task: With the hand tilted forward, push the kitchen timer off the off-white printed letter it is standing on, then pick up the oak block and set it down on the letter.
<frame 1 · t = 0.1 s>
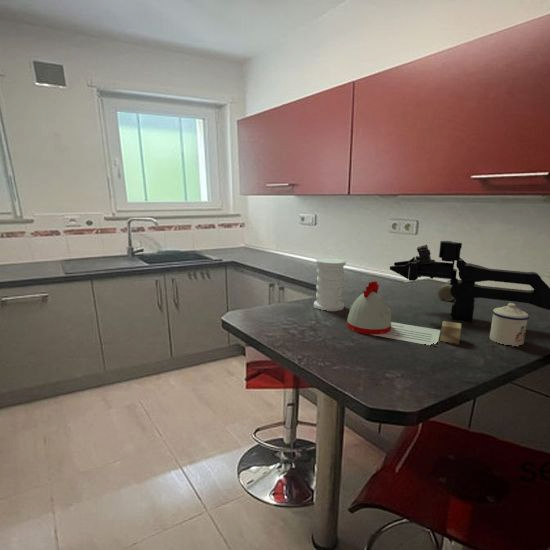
hand: (392, 265, 136), 17 cm above the breakfast bar, tool horizontal, fingers open, 9 cm apart
letter: (406, 332, 115), on the breakfast bar
teacup with lid: (506, 340, 110), on the breakfast bar
decorative container: (328, 307, 141), on the breakfast bar
kitchen timer: (368, 327, 119), on the breakfast bar, touching letter
block: (449, 340, 109), on the breakfast bar
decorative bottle: (452, 296, 160), on the breakfast bar
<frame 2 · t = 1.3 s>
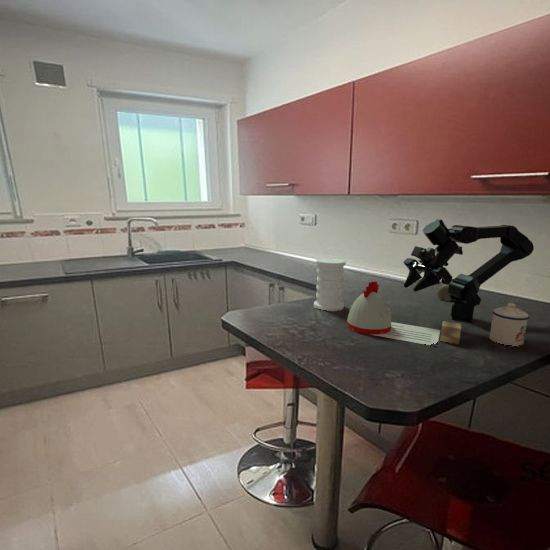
hand: (409, 288, 120), 12 cm above the breakfast bar, tool tilted 45°, fingers open, 5 cm apart
nothing on the breakfast bar moved.
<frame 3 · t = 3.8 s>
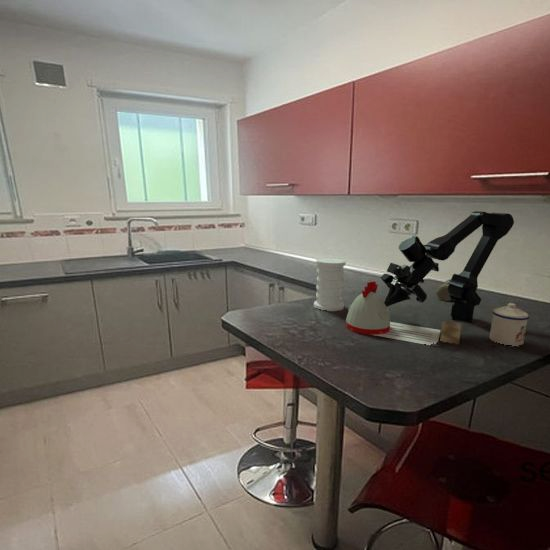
hand: (384, 305, 119), 7 cm above the breakfast bar, tool tilted 45°, fingers closed, pressing on kitchen timer
kitchen timer: (367, 327, 119), on the breakfast bar, touching gripper, letter
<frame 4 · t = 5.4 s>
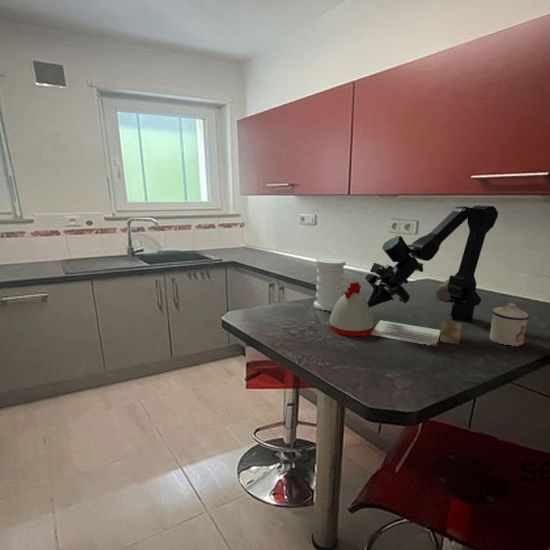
hand: (368, 306, 117), 7 cm above the breakfast bar, tool tilted 45°, fingers closed, pressing on kitchen timer
kitchen timer: (350, 328, 118), on the breakfast bar, touching gripper, letter
everything else where it was.
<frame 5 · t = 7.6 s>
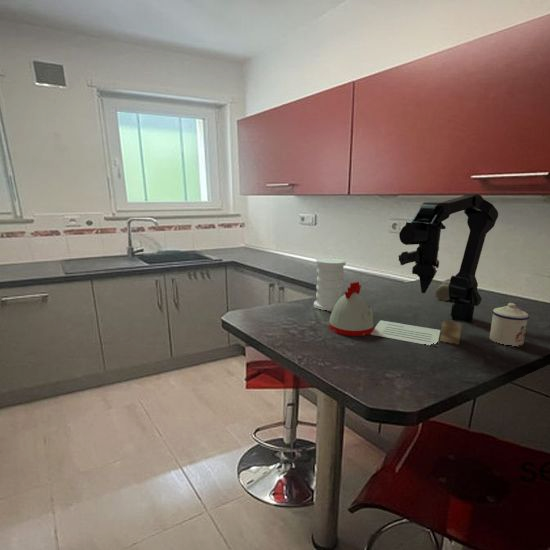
hand: (423, 292, 116), 12 cm above the breakfast bar, tool pointing down, fingers closed
kitchen timer: (350, 328, 118), on the breakfast bar, touching letter
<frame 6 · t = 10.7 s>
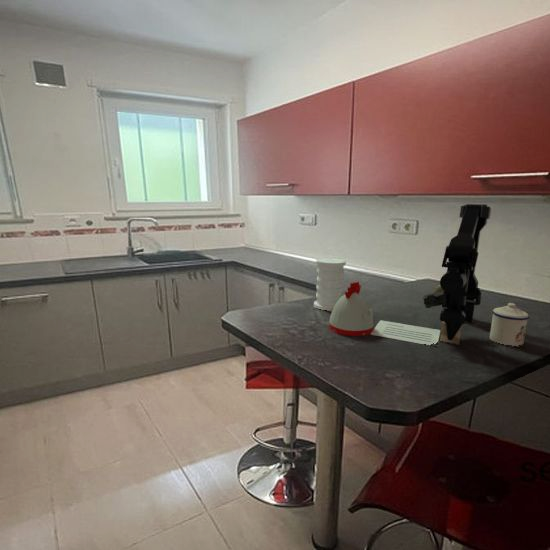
hand: (450, 336, 109), 1 cm above the breakfast bar, tool pointing down, fingers closed on block, 5 cm apart
block: (449, 340, 109), on the breakfast bar, touching gripper
when the fingers open (2 cm above the breakfast bar, at t = 14.4 s): block drops 1 cm, resting on letter.
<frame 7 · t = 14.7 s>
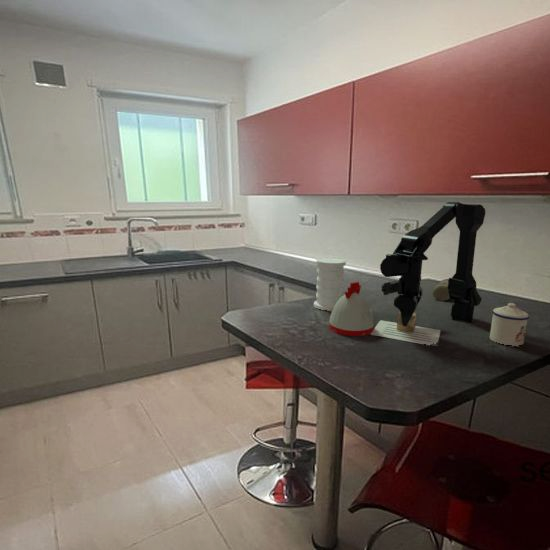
hand: (406, 321, 117), 2 cm above the breakfast bar, tool pointing down, fingers open, 8 cm apart
block: (405, 328, 118), resting on letter
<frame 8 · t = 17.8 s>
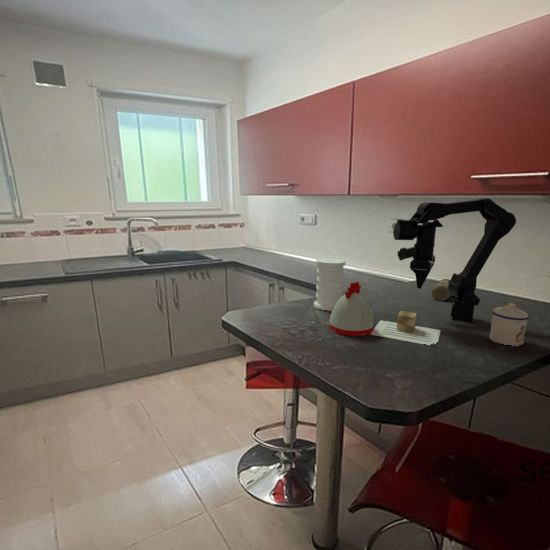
hand: (420, 285, 125), 12 cm above the breakfast bar, tool pointing down, fingers open, 9 cm apart
at the end: kitchen timer inside the target area (11.4 cm from its centre), on the breakfast bar; block inside the target area on the letter (3.0 cm from its centre), point 0.1 cm above the letter's base; kitchen timer tilted 0° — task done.
